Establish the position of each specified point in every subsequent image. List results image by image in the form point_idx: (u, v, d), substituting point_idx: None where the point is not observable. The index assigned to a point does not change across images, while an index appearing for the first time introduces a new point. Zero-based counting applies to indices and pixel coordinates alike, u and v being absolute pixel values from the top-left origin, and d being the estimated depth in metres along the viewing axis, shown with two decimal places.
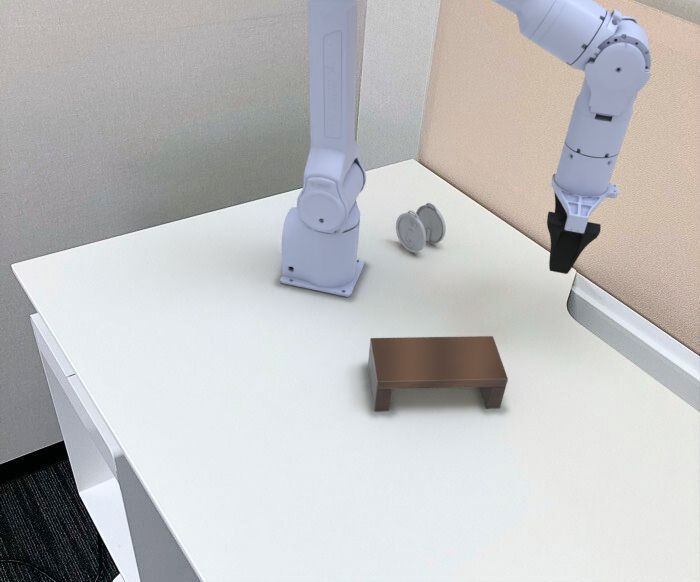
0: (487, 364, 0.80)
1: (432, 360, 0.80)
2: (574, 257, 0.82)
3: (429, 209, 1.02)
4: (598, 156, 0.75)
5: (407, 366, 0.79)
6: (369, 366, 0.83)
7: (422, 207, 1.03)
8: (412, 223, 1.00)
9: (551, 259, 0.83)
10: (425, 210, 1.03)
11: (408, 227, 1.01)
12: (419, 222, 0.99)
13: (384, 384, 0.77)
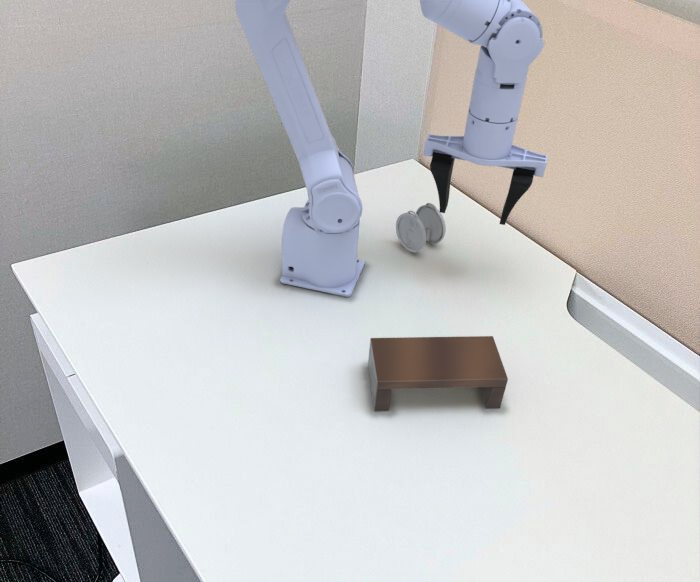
0: (487, 364, 0.80)
1: (432, 360, 0.80)
2: None
3: (429, 209, 1.02)
4: None
5: (407, 366, 0.79)
6: (369, 366, 0.83)
7: (422, 207, 1.03)
8: (412, 223, 1.00)
9: (508, 214, 0.91)
10: (425, 209, 1.03)
11: (408, 227, 1.01)
12: (419, 222, 0.99)
13: (384, 384, 0.77)
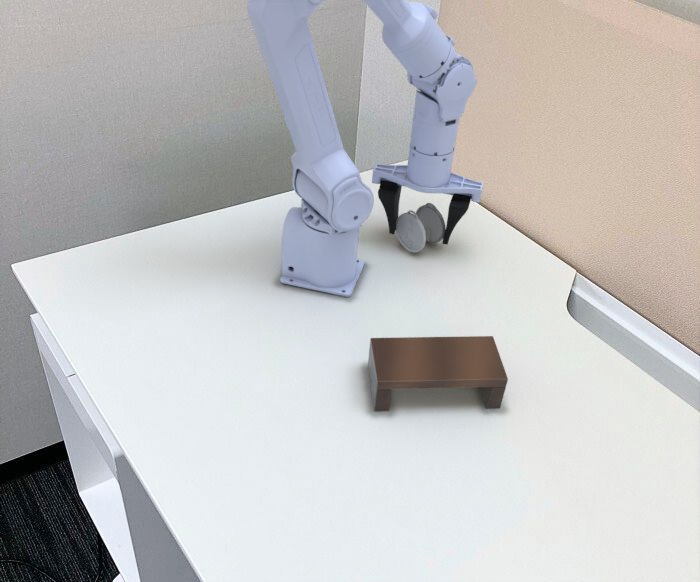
0: (487, 364, 0.80)
1: (432, 360, 0.80)
2: None
3: (429, 209, 1.02)
4: None
5: (407, 366, 0.79)
6: (369, 366, 0.83)
7: (422, 207, 1.03)
8: (412, 223, 1.00)
9: None
10: (425, 209, 1.03)
11: (408, 227, 1.01)
12: (419, 222, 0.99)
13: (384, 384, 0.77)
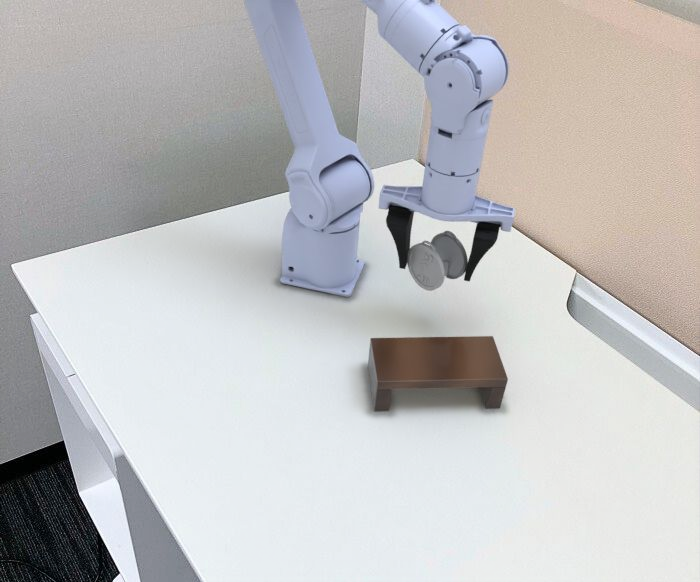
0: (487, 364, 0.80)
1: (432, 360, 0.80)
2: None
3: (447, 238, 0.85)
4: None
5: (407, 366, 0.79)
6: (369, 366, 0.83)
7: (438, 235, 0.86)
8: (427, 256, 0.83)
9: (473, 271, 0.83)
10: (442, 238, 0.85)
11: (422, 260, 0.84)
12: (436, 255, 0.81)
13: (384, 384, 0.77)
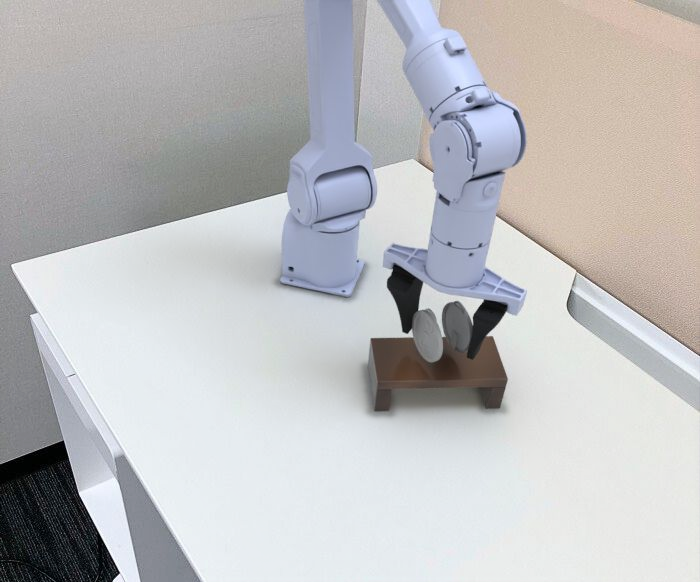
0: (487, 364, 0.80)
1: None
2: None
3: (457, 309, 0.77)
4: None
5: (407, 366, 0.79)
6: (369, 366, 0.83)
7: (451, 303, 0.79)
8: (429, 325, 0.76)
9: (476, 349, 0.75)
10: (453, 308, 0.78)
11: (424, 328, 0.77)
12: (436, 326, 0.75)
13: (384, 384, 0.77)
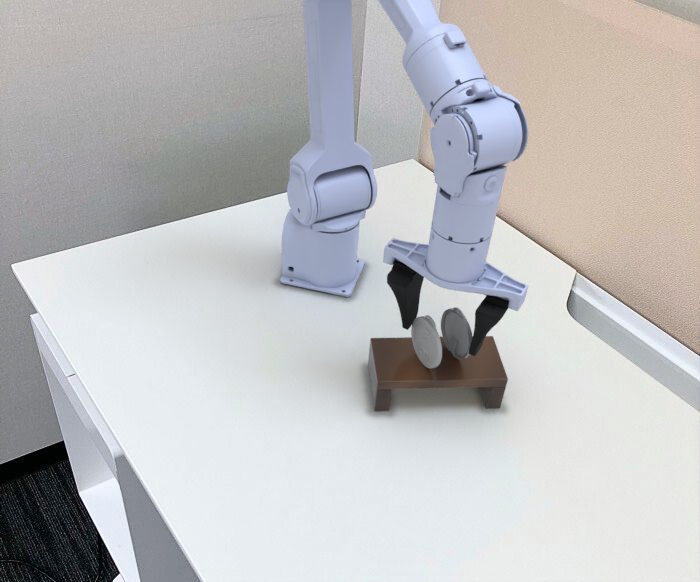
0: (487, 364, 0.80)
1: None
2: None
3: (456, 315, 0.78)
4: (492, 231, 0.68)
5: (407, 366, 0.79)
6: (369, 366, 0.83)
7: (450, 310, 0.79)
8: (428, 332, 0.76)
9: (478, 346, 0.75)
10: (452, 314, 0.79)
11: (424, 335, 0.77)
12: (435, 333, 0.75)
13: (384, 384, 0.77)
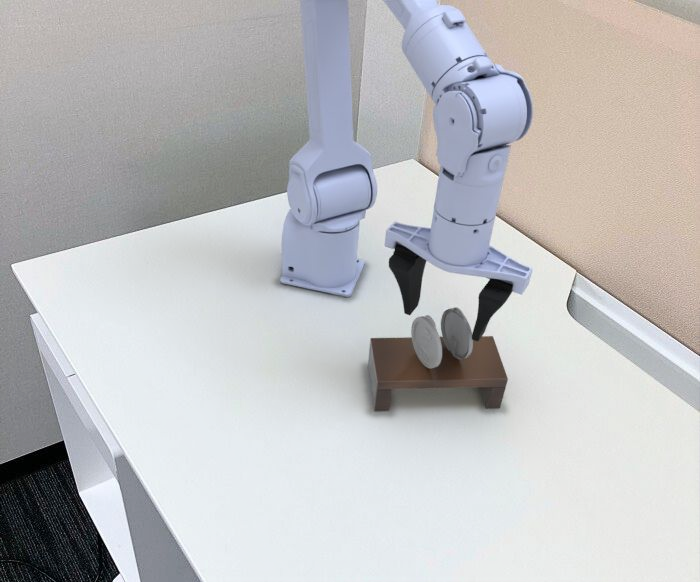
0: (487, 364, 0.80)
1: None
2: None
3: (457, 315, 0.78)
4: None
5: (407, 366, 0.79)
6: (369, 366, 0.83)
7: (450, 310, 0.79)
8: (428, 332, 0.76)
9: (481, 331, 0.74)
10: (452, 314, 0.79)
11: (424, 335, 0.77)
12: (435, 333, 0.75)
13: (384, 384, 0.77)
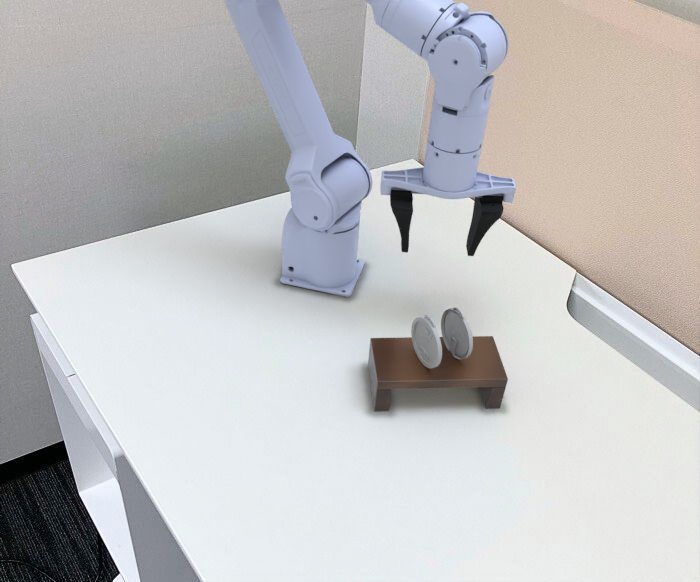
0: (487, 364, 0.80)
1: None
2: None
3: (457, 315, 0.78)
4: None
5: (407, 366, 0.79)
6: (369, 366, 0.83)
7: (450, 310, 0.79)
8: (428, 332, 0.76)
9: None
10: (452, 314, 0.79)
11: (424, 335, 0.77)
12: (435, 333, 0.75)
13: (384, 384, 0.77)
